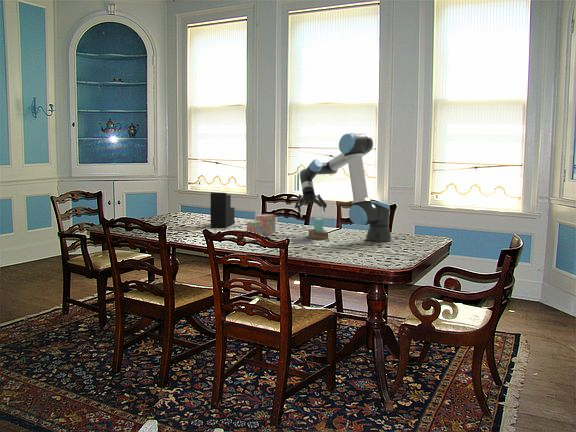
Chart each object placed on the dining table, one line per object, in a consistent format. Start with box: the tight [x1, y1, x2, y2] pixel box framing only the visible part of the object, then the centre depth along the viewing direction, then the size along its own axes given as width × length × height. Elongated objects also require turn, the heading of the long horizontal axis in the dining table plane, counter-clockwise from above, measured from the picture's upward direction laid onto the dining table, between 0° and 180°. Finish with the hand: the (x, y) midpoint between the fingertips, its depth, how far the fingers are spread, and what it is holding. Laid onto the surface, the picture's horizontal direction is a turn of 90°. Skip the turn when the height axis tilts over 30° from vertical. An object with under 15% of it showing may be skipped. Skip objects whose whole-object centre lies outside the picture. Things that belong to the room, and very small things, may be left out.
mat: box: [289, 238, 316, 245], centre depth 342 cm, size 16×12×1 cm
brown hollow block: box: [307, 228, 330, 241], centre depth 354 cm, size 13×10×4 cm
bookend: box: [210, 192, 236, 229], centre depth 397 cm, size 23×11×24 cm, turn 169°
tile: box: [313, 217, 324, 232], centre depth 354 cm, size 8×4×11 cm, turn 10°
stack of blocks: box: [246, 213, 276, 237], centre depth 362 cm, size 21×6×12 cm, turn 145°
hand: (312, 215), depth 363 cm, fingers open, 13 cm apart
